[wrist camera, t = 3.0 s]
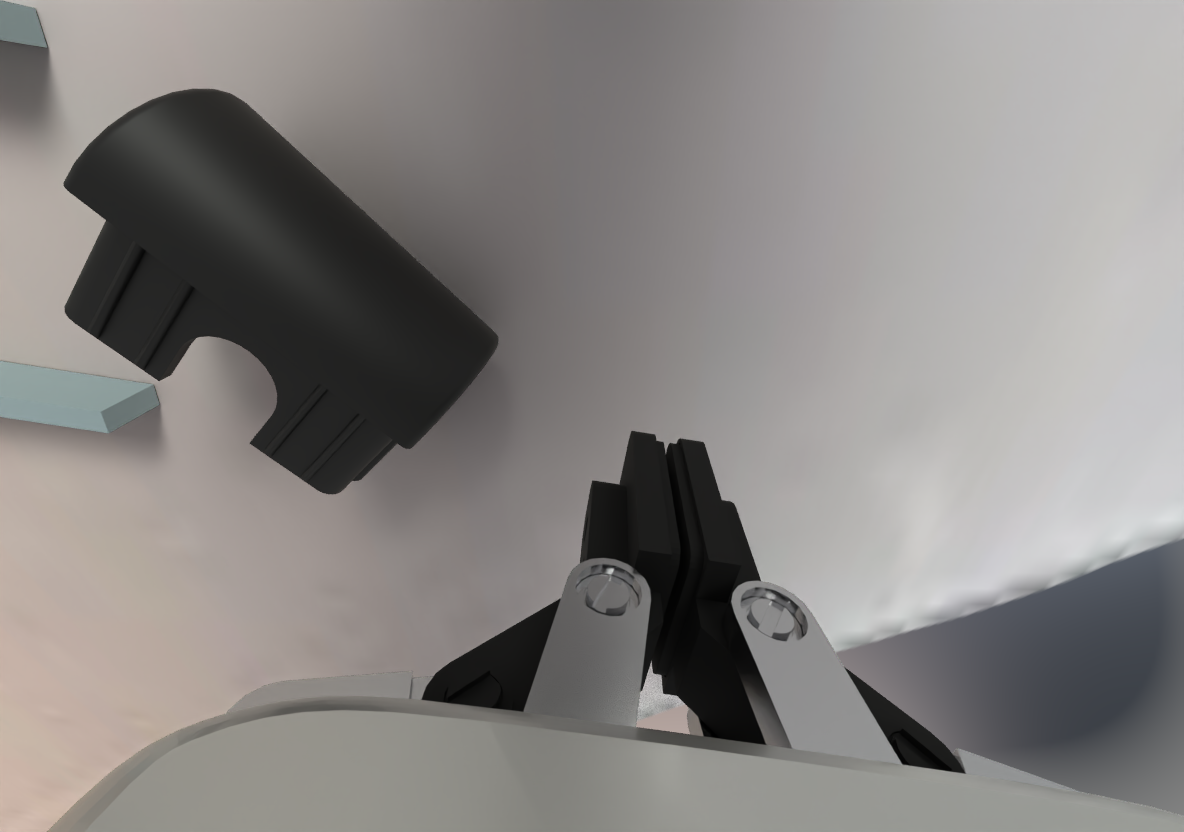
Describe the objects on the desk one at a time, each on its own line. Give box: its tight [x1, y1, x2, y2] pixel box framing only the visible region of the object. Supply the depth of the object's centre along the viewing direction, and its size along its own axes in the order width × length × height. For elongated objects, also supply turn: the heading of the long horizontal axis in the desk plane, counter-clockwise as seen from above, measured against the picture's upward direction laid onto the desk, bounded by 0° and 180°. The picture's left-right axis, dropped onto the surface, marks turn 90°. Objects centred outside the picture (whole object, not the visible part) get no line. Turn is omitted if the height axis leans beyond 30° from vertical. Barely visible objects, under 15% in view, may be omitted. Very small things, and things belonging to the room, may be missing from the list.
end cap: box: [64, 89, 498, 494], centre depth 16 cm, size 10×7×7 cm
